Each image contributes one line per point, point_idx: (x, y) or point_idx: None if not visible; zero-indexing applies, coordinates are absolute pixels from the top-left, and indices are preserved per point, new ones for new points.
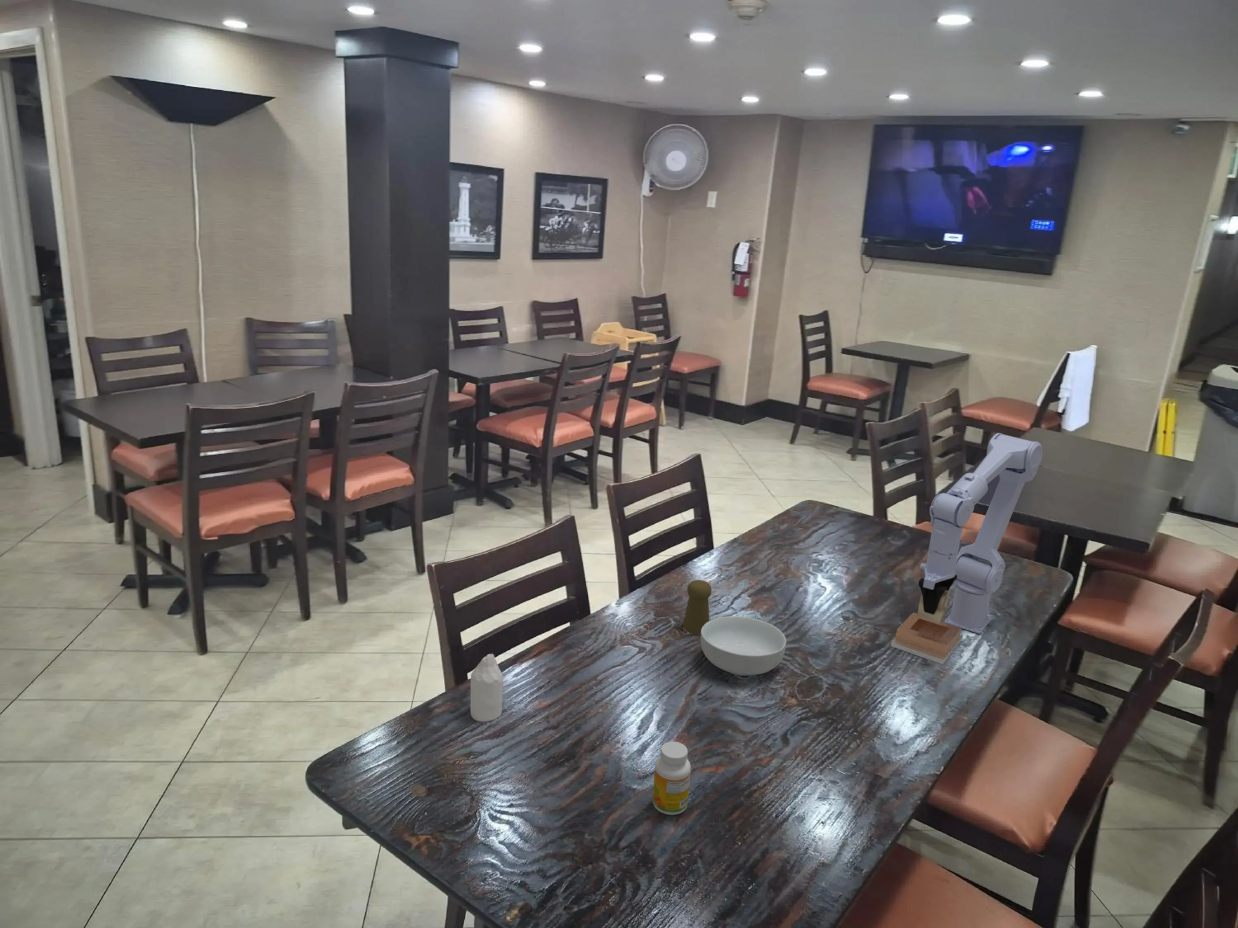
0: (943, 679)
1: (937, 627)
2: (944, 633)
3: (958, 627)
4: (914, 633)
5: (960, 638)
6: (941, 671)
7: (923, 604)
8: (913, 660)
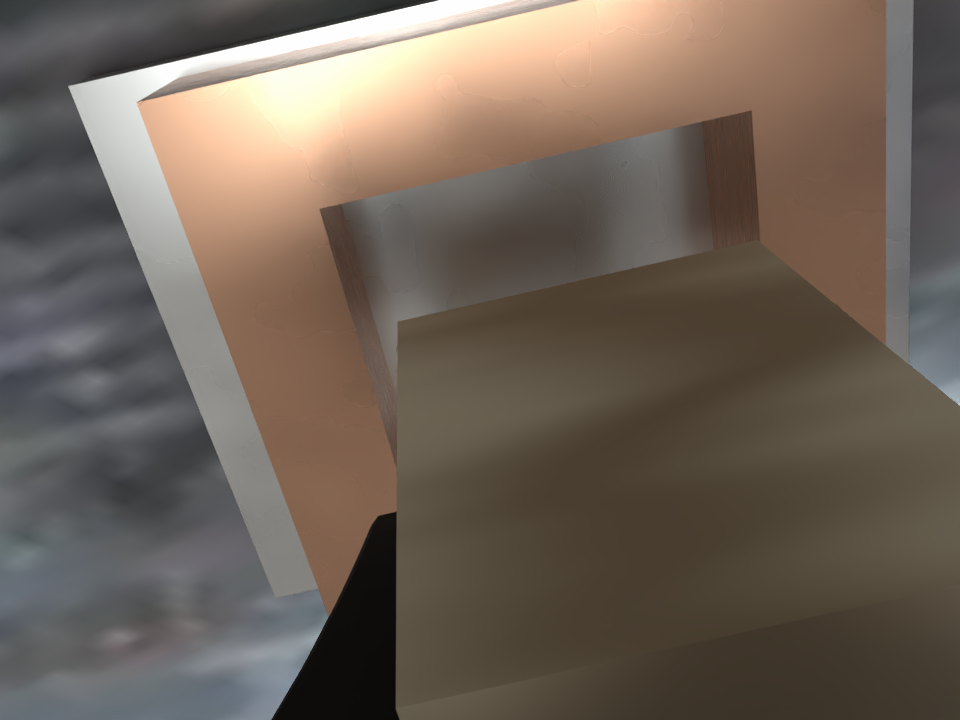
0: (63, 680)
1: None
2: None
3: None
4: (262, 321)
5: None
6: (161, 615)
7: (341, 598)
8: (78, 395)
